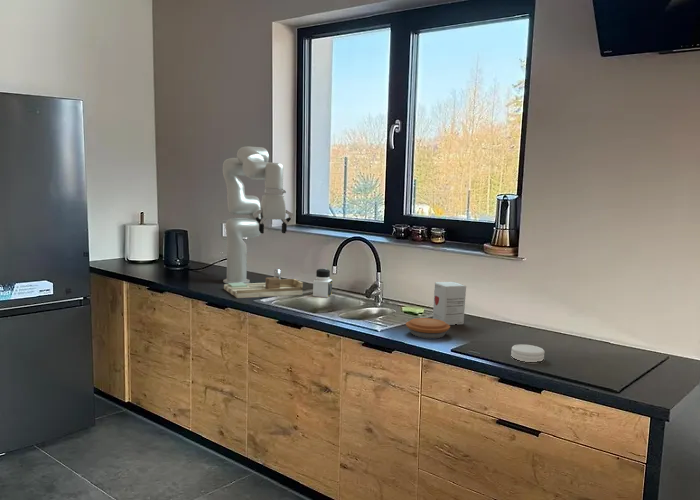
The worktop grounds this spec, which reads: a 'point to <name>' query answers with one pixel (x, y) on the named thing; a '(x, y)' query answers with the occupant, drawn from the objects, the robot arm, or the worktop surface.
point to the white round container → (527, 353)
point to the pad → (237, 285)
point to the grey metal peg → (277, 273)
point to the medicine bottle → (322, 283)
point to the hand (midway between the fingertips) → (272, 233)
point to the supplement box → (449, 302)
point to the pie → (427, 327)
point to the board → (259, 289)
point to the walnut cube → (272, 283)
